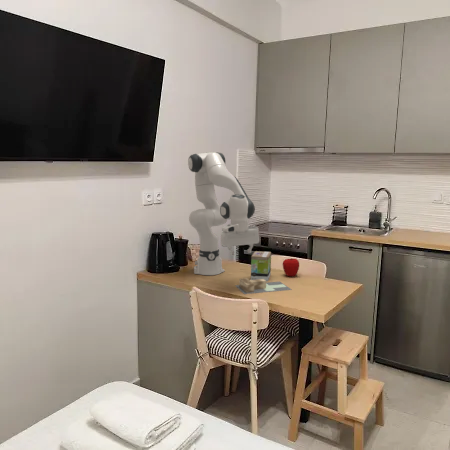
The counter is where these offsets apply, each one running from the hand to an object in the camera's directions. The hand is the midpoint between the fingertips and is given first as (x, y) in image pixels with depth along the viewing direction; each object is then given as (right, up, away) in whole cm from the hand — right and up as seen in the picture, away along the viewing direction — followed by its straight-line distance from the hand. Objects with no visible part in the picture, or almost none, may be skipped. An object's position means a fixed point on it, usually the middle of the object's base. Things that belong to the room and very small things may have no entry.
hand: (240, 253), depth 213 cm
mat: (+12, -19, +7) cm, 24 cm away
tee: (+7, -18, +6) cm, 21 cm away
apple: (+31, -15, +33) cm, 48 cm away
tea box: (+12, -16, +27) cm, 34 cm away
